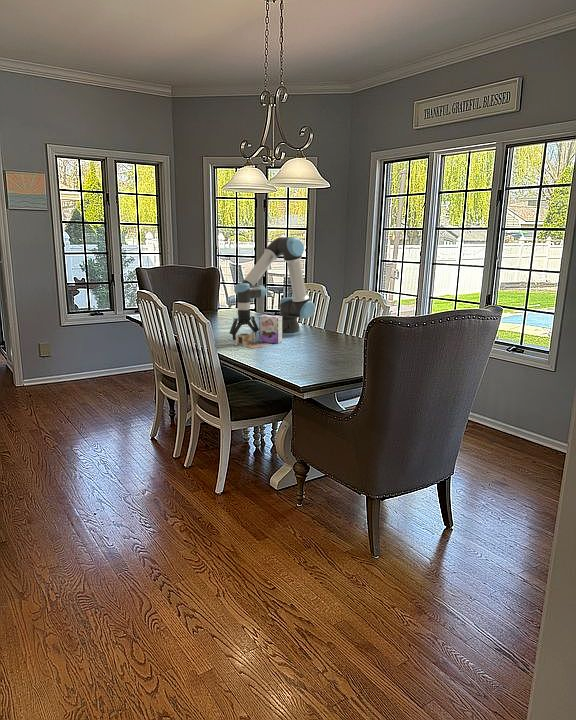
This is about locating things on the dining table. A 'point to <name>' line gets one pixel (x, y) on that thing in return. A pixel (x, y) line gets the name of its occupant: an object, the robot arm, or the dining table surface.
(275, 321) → the candy box
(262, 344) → the grey tile
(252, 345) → the terracotta tile
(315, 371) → the dining table surface
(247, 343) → the cube
